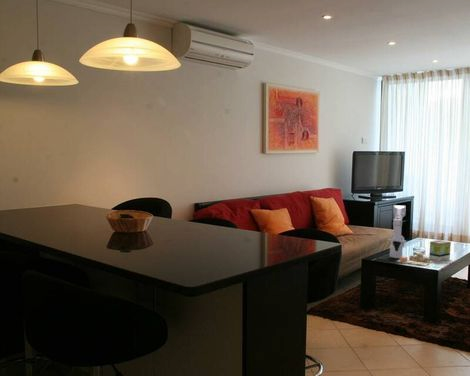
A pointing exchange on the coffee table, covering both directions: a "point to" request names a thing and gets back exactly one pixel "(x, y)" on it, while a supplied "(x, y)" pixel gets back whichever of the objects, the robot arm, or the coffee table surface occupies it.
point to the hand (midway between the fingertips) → (396, 250)
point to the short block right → (426, 260)
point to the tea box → (439, 250)
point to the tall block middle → (419, 257)
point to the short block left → (412, 258)
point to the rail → (414, 263)
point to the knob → (403, 258)
